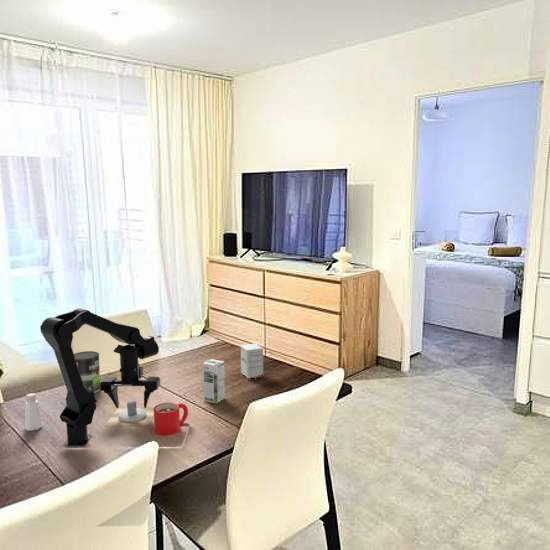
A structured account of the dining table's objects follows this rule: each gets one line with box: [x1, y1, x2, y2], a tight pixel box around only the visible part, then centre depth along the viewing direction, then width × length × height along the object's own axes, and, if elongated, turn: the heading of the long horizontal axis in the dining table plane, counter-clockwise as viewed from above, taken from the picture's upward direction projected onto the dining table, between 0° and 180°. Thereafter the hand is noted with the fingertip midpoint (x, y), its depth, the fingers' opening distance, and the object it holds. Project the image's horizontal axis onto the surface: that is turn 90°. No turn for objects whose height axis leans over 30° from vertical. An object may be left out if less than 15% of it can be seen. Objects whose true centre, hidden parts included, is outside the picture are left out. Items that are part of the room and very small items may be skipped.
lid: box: [118, 400, 146, 422], centre depth 161 cm, size 9×9×5 cm
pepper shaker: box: [24, 392, 43, 432], centre depth 154 cm, size 5×5×11 cm
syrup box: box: [202, 358, 226, 405], centre depth 174 cm, size 6×6×14 cm
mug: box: [153, 402, 189, 437], centre depth 153 cm, size 8×12×8 cm, turn 140°
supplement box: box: [240, 343, 264, 378], centre depth 198 cm, size 7×7×13 cm
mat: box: [104, 406, 155, 427], centre depth 161 cm, size 14×14×1 cm
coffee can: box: [74, 350, 101, 394], centre depth 183 cm, size 10×10×14 cm
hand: (131, 407), depth 161 cm, fingers open, 9 cm apart
